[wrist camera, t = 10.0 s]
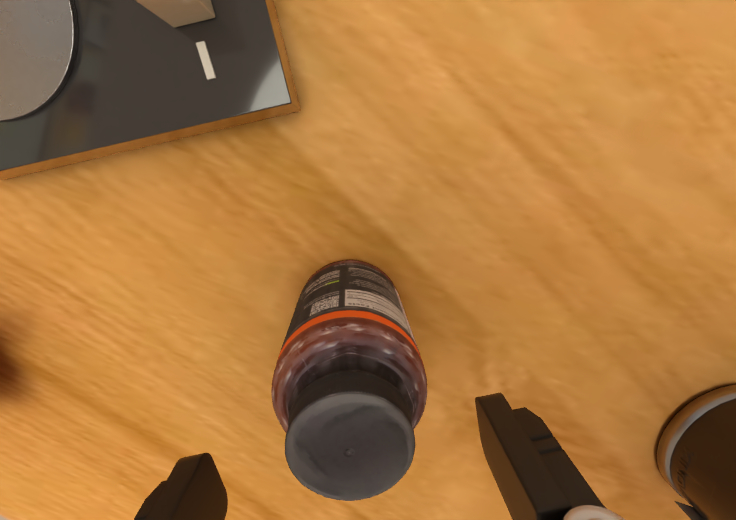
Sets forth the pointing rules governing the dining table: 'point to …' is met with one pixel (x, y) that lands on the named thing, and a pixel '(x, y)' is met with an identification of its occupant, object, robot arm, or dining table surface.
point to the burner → (35, 53)
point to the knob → (180, 10)
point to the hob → (154, 83)
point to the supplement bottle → (349, 384)
